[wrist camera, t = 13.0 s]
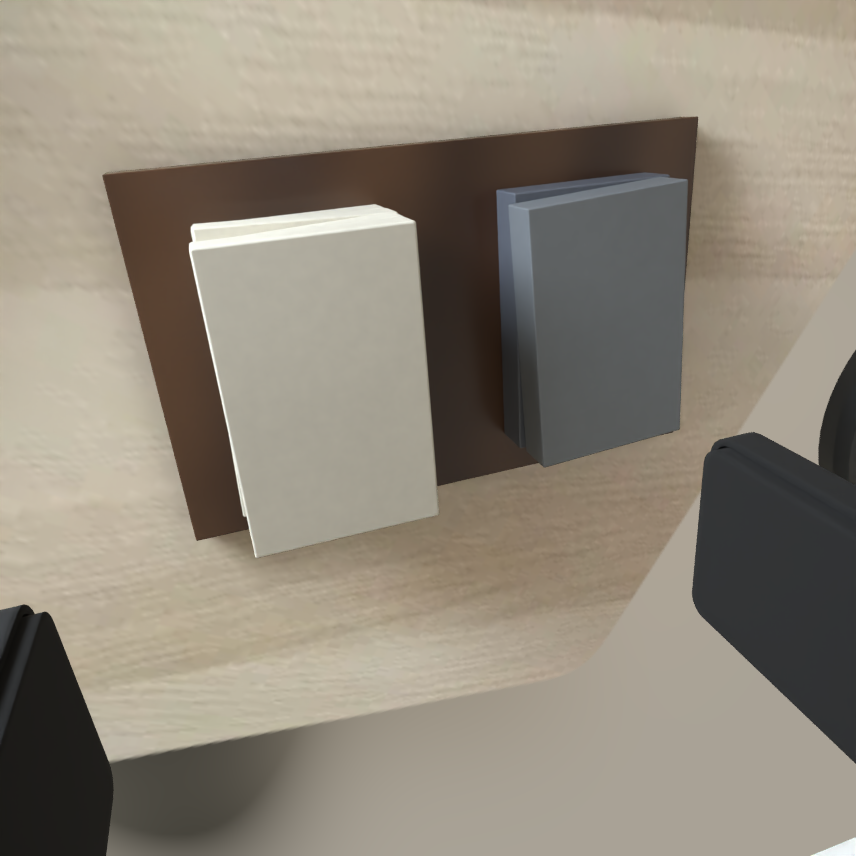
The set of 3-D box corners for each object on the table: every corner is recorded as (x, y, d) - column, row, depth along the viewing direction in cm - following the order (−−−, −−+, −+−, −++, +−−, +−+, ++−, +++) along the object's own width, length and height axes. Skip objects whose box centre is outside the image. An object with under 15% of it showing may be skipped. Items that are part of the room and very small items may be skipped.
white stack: (383, 197, 27) (414, 207, 23) (408, 458, 32) (438, 501, 28) (180, 220, 25) (179, 236, 21) (240, 494, 30) (248, 545, 26)
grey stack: (646, 171, 30) (701, 176, 27) (634, 408, 35) (679, 436, 31) (489, 190, 28) (527, 198, 25) (498, 438, 33) (531, 470, 30)
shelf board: (681, 117, 31) (698, 116, 30) (659, 423, 37) (673, 432, 36) (105, 172, 25) (101, 174, 24) (196, 527, 31) (196, 541, 30)
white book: (404, 215, 23) (416, 220, 22) (428, 498, 28) (439, 515, 27) (188, 242, 21) (188, 248, 20) (252, 539, 26) (255, 559, 25)
